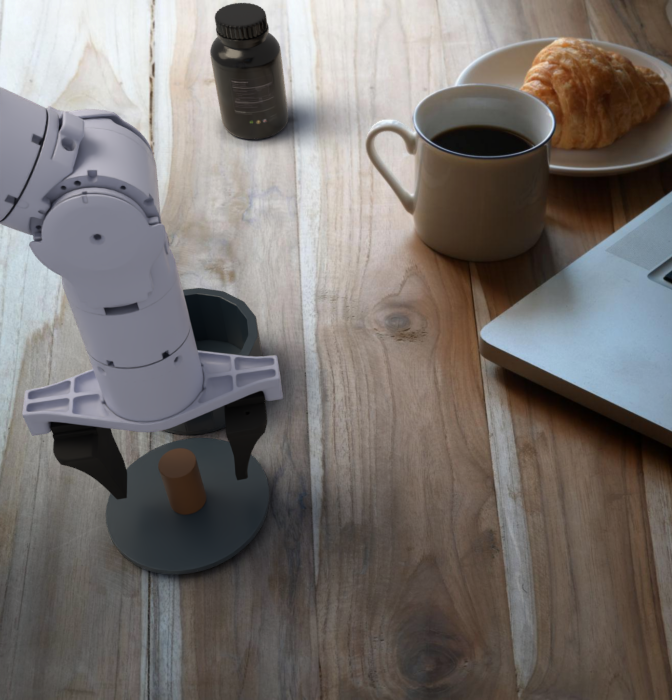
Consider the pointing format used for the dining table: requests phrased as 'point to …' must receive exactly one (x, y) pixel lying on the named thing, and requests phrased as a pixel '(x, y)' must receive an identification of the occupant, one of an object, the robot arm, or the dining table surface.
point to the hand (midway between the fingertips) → (182, 476)
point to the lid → (187, 507)
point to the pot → (218, 341)
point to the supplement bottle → (248, 73)
